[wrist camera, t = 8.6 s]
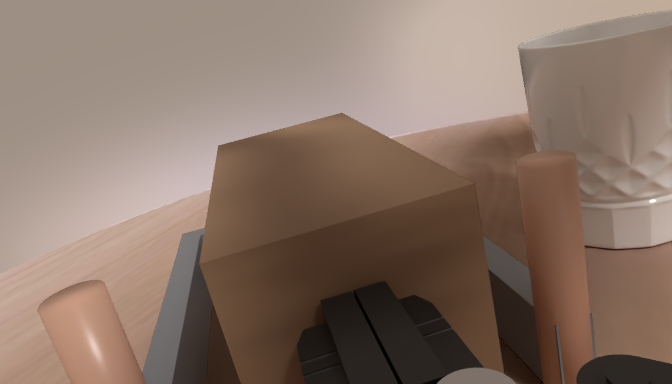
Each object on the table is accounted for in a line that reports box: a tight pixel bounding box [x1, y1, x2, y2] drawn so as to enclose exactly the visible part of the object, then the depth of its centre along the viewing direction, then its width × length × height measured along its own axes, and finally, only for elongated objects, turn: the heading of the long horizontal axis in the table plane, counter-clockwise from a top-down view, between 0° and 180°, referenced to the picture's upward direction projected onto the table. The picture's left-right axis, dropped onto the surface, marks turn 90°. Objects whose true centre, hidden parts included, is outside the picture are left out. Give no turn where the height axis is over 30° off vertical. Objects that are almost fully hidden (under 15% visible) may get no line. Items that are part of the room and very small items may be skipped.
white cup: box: [518, 10, 672, 249], centre depth 25 cm, size 8×8×10 cm
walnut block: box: [199, 113, 504, 384], centre depth 19 cm, size 6×14×9 cm, turn 12°
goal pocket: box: [37, 150, 596, 384], centre depth 23 cm, size 15×19×8 cm
